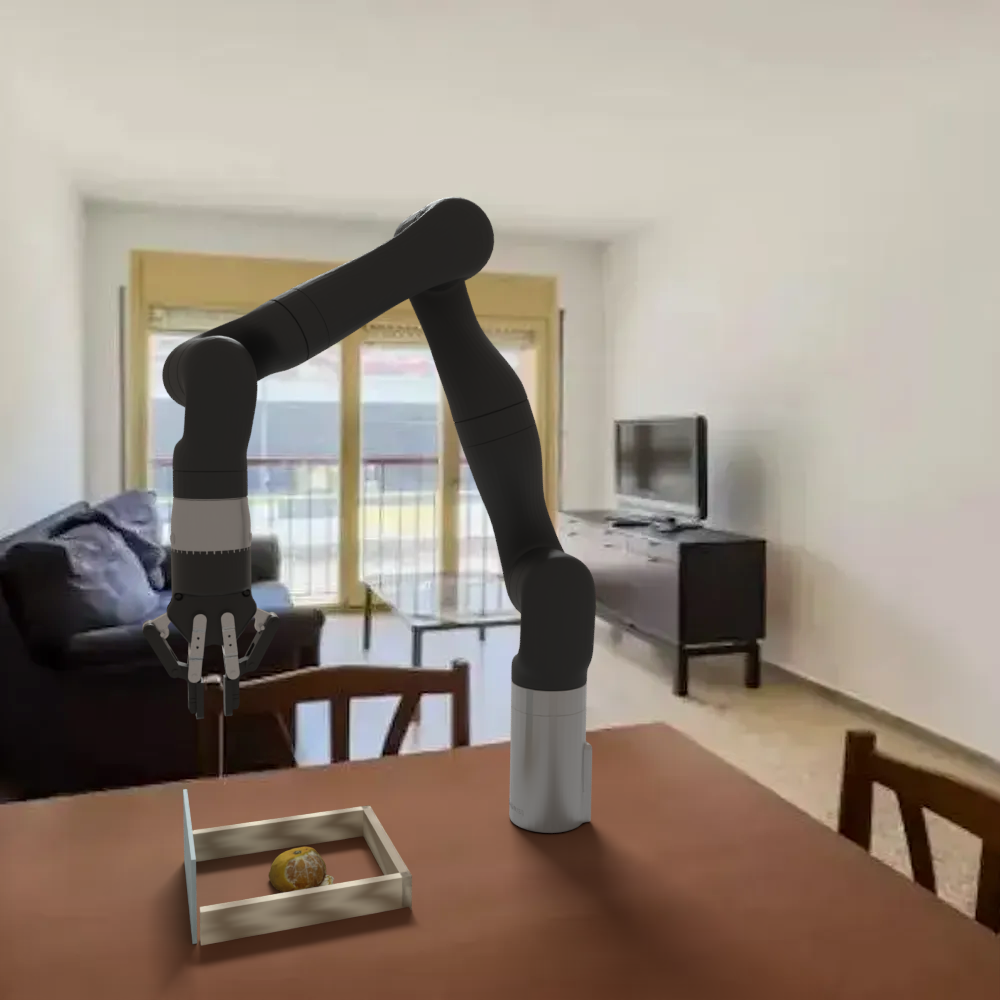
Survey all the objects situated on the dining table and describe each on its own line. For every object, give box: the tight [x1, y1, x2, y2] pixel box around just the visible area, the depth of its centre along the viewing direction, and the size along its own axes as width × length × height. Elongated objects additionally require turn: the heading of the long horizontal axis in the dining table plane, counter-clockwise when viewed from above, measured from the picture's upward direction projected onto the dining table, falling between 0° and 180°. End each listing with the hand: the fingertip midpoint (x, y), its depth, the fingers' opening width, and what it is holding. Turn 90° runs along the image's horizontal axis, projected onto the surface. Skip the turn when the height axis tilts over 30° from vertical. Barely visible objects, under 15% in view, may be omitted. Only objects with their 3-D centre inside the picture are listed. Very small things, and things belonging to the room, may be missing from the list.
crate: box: [192, 804, 413, 946], centre depth 96 cm, size 20×18×4 cm
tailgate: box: [182, 788, 198, 945], centre depth 92 cm, size 1×17×8 cm, turn 22°
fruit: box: [268, 846, 335, 893], centre depth 95 cm, size 8×8×4 cm
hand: (213, 714), depth 91 cm, fingers closed
